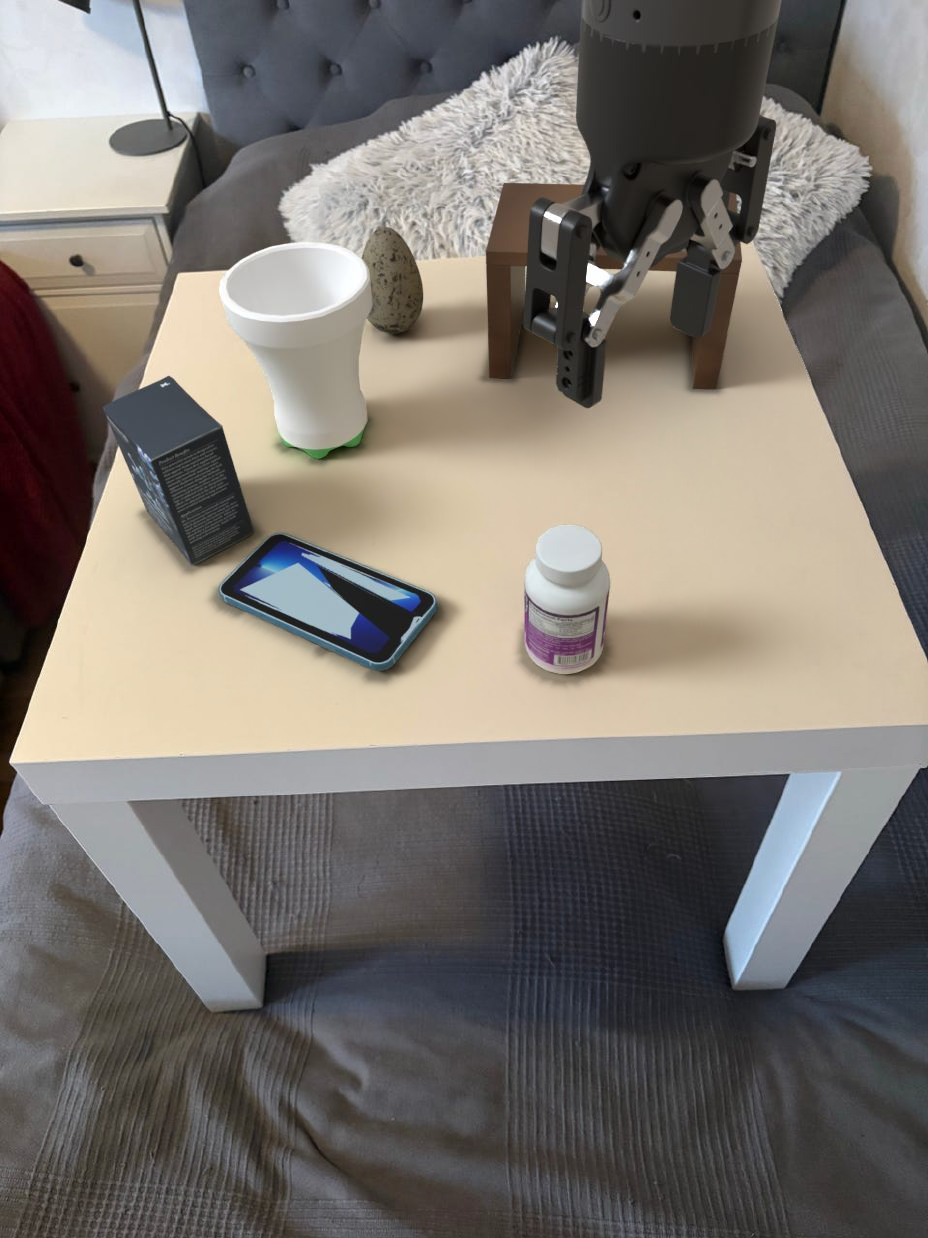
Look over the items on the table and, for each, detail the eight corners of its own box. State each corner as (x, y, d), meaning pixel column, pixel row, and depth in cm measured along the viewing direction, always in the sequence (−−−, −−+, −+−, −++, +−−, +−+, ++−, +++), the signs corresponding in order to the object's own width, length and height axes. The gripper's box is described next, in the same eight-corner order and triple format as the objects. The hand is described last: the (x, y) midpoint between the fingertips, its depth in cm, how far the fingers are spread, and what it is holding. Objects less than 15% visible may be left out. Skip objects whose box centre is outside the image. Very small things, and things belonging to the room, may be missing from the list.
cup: (335, 492, 73) (304, 336, 63) (232, 447, 78) (186, 294, 67) (415, 416, 79) (399, 262, 68) (315, 379, 83) (285, 227, 73)
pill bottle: (546, 605, 65) (550, 504, 57) (616, 633, 63) (629, 532, 55) (509, 658, 62) (508, 559, 54) (580, 689, 60) (589, 591, 53)
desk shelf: (712, 313, 88) (735, 187, 78) (716, 389, 80) (742, 259, 71) (504, 305, 90) (503, 182, 81) (488, 377, 82) (485, 250, 73)
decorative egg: (408, 352, 86) (397, 250, 78) (353, 339, 87) (337, 238, 80) (436, 319, 89) (429, 218, 81) (383, 307, 91) (371, 207, 83)
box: (145, 514, 73) (99, 404, 65) (209, 482, 75) (172, 372, 67) (191, 568, 69) (148, 459, 60) (257, 534, 71) (223, 423, 63)
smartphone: (275, 528, 70) (442, 596, 64) (278, 537, 70) (443, 605, 65) (211, 591, 66) (383, 669, 60) (215, 600, 67) (385, 678, 61)
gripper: (631, 80, 30) (597, 460, 43) (870, -26, 36) (779, 335, 49) (477, 29, 34) (487, 392, 46) (716, -60, 40) (668, 284, 52)
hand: (636, 363), depth 48 cm, fingers open, 8 cm apart
